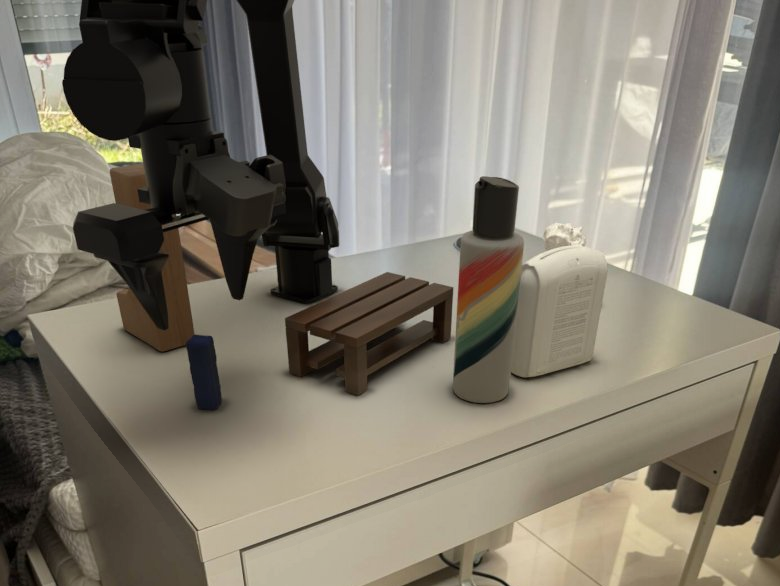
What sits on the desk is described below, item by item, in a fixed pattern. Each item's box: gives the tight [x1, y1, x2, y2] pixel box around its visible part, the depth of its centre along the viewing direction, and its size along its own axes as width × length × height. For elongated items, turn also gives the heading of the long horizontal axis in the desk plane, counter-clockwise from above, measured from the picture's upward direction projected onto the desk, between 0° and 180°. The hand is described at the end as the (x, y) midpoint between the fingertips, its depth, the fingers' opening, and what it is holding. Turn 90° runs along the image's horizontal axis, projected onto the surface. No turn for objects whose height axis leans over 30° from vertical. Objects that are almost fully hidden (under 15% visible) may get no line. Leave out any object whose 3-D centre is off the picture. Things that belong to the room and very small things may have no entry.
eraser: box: [185, 334, 223, 411], centre depth 73 cm, size 2×2×7 cm
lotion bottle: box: [452, 175, 525, 404], centre depth 72 cm, size 6×6×20 cm
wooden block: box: [109, 163, 196, 353], centre depth 83 cm, size 9×4×18 cm, turn 43°
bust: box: [542, 221, 587, 252], centre depth 94 cm, size 12×8×11 cm
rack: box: [284, 271, 454, 396], centre depth 83 cm, size 9×18×6 cm, turn 146°
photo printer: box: [511, 245, 609, 378], centre depth 80 cm, size 10×4×12 cm, turn 123°
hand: (202, 313), depth 70 cm, fingers open, 9 cm apart
